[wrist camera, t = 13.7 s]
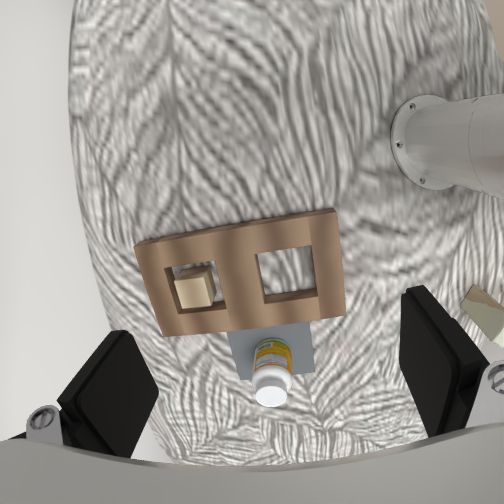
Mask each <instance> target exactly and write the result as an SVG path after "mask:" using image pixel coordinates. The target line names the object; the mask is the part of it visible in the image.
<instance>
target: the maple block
mask: <svg viewBox="0 0 504 504" xmlns="http://www.w3.org/2000/svg"><path fill="white" fill-rule="evenodd" d="M174 283H175V286H176V290H177V293H178V296H179V300H180V303H181V306H182V309H185V308H194V307H204V306H211V305H212V303H213V300H214V298H215V295H216V293H217V291H216V287H215V283H214V279H213V275H212V271H211V267H210V266H203V267H196V268H189V269H183V270H182V271H181V272H180V274H179V275H178V276H177V278H176V279H175V280H174Z"/></svg>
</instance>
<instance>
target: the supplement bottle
mask: <svg viewBox="0 0 504 504" xmlns="http://www.w3.org/2000/svg"><path fill="white" fill-rule="evenodd" d="M291 385H292V358H291V349H290V347H289V346H288V344H287V343H285V342H284V341H282V340H279V339H267V340H264V341H262V342H261V343H259V344H258V346H257V347H256V350H255V356H254V364H253V373H252V386H253V388H254V389H255V398H256V400H257V402H258V403H260V404H261V405H263V406H266V407H276V406H279V405H281V404H283V403H284V402H285V401H286V399H287V391H288V390H289V389H290V388H291Z"/></svg>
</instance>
